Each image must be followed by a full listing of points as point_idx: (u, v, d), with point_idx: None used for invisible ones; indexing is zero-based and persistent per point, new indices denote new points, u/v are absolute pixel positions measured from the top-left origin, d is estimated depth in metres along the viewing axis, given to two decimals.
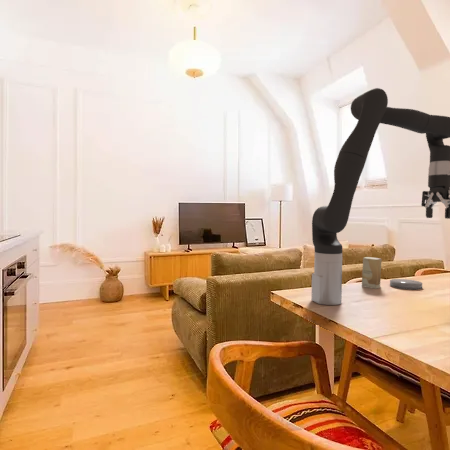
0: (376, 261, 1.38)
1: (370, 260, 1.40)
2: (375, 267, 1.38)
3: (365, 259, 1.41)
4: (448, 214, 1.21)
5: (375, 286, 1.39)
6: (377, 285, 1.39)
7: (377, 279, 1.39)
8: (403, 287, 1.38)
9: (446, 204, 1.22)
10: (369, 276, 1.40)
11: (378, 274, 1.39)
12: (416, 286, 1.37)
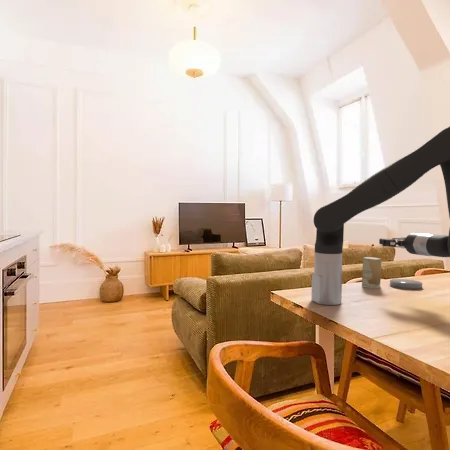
0: (376, 261, 1.38)
1: (370, 260, 1.40)
2: (375, 267, 1.38)
3: (365, 259, 1.41)
4: (381, 239, 1.28)
5: (375, 286, 1.39)
6: (377, 285, 1.39)
7: (377, 279, 1.39)
8: (403, 287, 1.38)
9: (388, 239, 1.25)
10: (369, 276, 1.40)
11: (378, 274, 1.39)
12: (416, 286, 1.37)
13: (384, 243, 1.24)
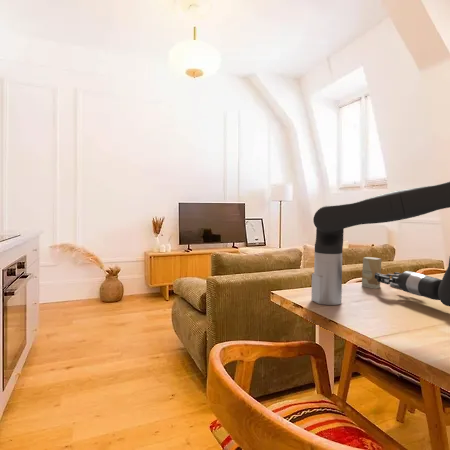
0: (376, 261, 1.38)
1: (370, 260, 1.40)
2: (375, 267, 1.38)
3: (365, 259, 1.41)
4: (376, 274, 1.31)
5: (375, 286, 1.39)
6: (377, 285, 1.39)
7: None
8: None
9: (383, 274, 1.28)
10: (369, 276, 1.40)
11: None
12: None
13: (379, 279, 1.27)
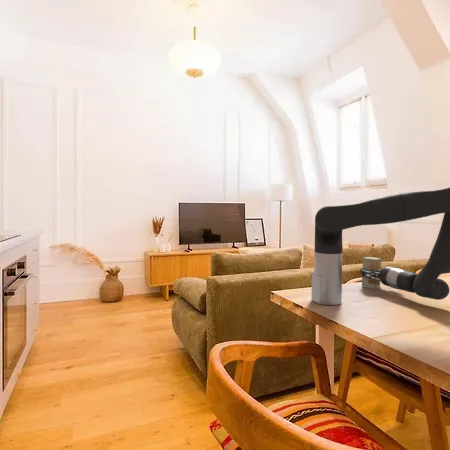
0: (376, 261, 1.38)
1: (370, 260, 1.40)
2: (375, 267, 1.38)
3: (365, 259, 1.41)
4: (361, 269, 1.42)
5: (375, 286, 1.39)
6: (377, 285, 1.39)
7: (377, 279, 1.39)
8: None
9: (367, 270, 1.38)
10: None
11: None
12: None
13: (363, 274, 1.37)
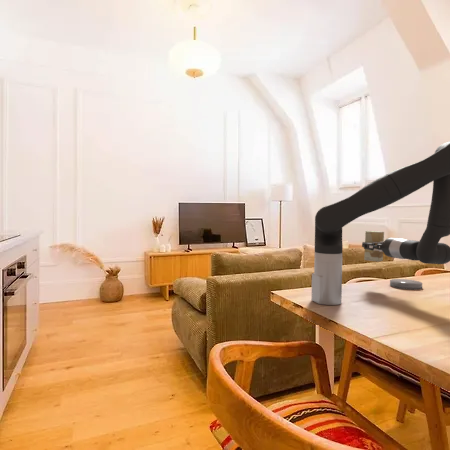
0: (379, 234, 1.38)
1: (373, 233, 1.39)
2: (378, 240, 1.38)
3: (367, 232, 1.41)
4: (363, 243, 1.41)
5: (378, 259, 1.38)
6: (380, 258, 1.39)
7: (379, 252, 1.38)
8: (403, 287, 1.38)
9: None
10: None
11: None
12: (416, 286, 1.37)
13: (365, 246, 1.37)
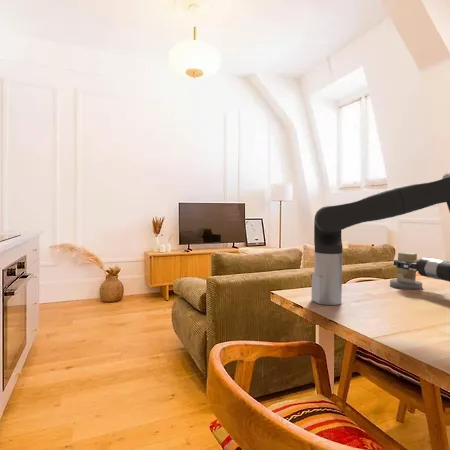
0: (412, 256, 1.39)
1: (406, 255, 1.41)
2: None
3: (400, 254, 1.42)
4: (395, 261, 1.42)
5: (411, 281, 1.40)
6: (413, 280, 1.40)
7: (412, 274, 1.40)
8: (403, 287, 1.38)
9: (402, 261, 1.39)
10: (404, 271, 1.41)
11: None
12: (416, 286, 1.37)
13: (398, 265, 1.38)
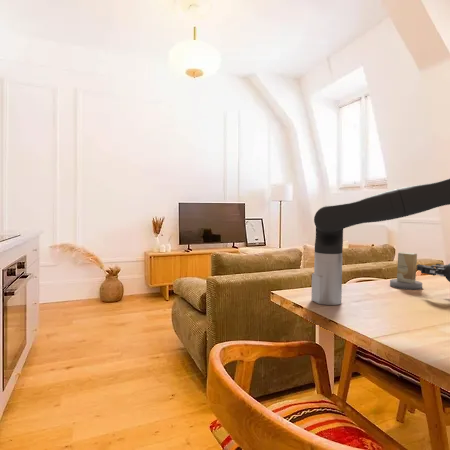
0: (412, 256, 1.39)
1: (406, 255, 1.41)
2: (411, 262, 1.39)
3: (400, 254, 1.42)
4: (419, 266, 1.29)
5: (411, 281, 1.40)
6: (413, 280, 1.40)
7: (412, 274, 1.40)
8: (403, 287, 1.38)
9: (427, 266, 1.26)
10: (404, 271, 1.41)
11: (414, 269, 1.40)
12: (416, 286, 1.37)
13: (423, 270, 1.25)
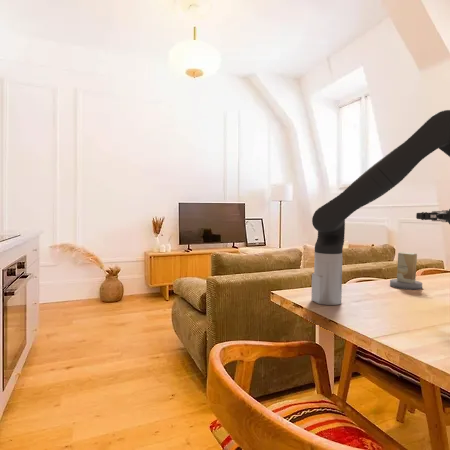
0: (412, 256, 1.39)
1: (406, 255, 1.41)
2: (411, 262, 1.40)
3: (400, 254, 1.42)
4: (418, 214, 1.18)
5: (411, 281, 1.40)
6: (413, 280, 1.40)
7: (412, 274, 1.40)
8: (403, 287, 1.38)
9: None
10: (404, 271, 1.41)
11: (414, 269, 1.40)
12: (416, 286, 1.37)
13: (423, 217, 1.14)
